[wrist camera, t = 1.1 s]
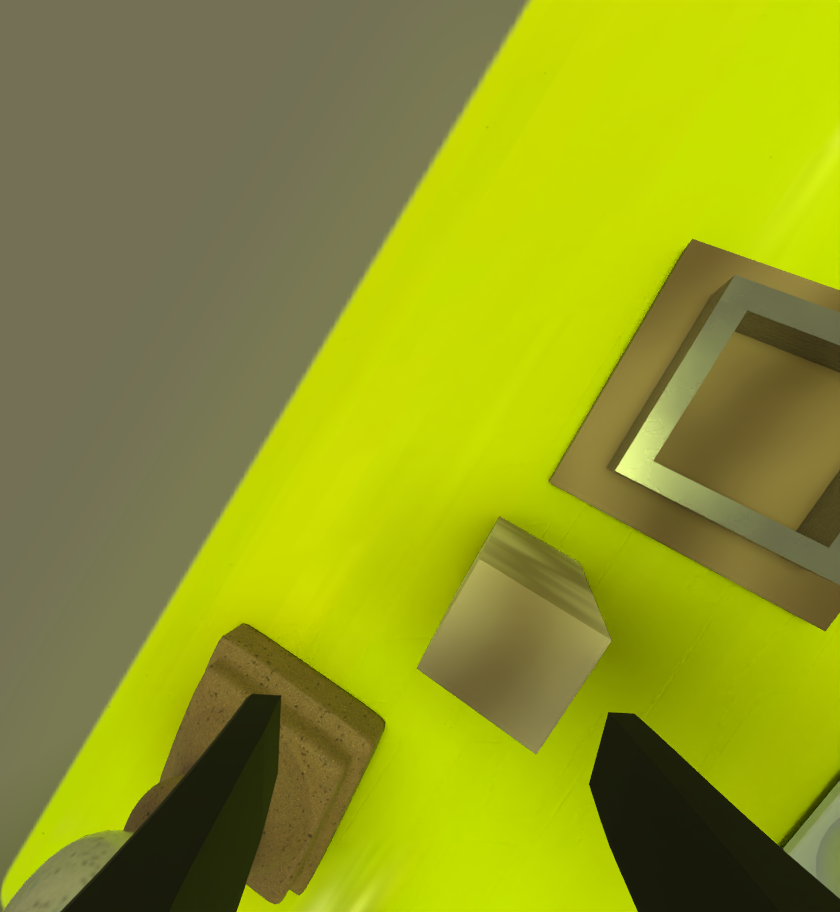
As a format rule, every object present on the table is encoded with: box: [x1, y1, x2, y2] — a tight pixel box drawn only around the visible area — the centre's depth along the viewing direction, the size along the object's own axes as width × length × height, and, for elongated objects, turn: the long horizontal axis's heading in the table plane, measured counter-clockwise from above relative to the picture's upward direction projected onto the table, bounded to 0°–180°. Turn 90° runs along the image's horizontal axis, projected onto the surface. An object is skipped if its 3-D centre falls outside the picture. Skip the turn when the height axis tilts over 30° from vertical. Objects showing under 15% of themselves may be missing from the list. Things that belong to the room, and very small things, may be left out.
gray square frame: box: [606, 275, 840, 585], centre depth 15 cm, size 8×8×2 cm
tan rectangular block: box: [417, 517, 612, 754], centre depth 16 cm, size 4×4×8 cm
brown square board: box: [549, 239, 840, 631], centre depth 17 cm, size 12×12×1 cm
